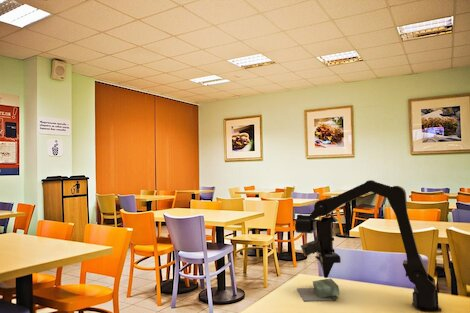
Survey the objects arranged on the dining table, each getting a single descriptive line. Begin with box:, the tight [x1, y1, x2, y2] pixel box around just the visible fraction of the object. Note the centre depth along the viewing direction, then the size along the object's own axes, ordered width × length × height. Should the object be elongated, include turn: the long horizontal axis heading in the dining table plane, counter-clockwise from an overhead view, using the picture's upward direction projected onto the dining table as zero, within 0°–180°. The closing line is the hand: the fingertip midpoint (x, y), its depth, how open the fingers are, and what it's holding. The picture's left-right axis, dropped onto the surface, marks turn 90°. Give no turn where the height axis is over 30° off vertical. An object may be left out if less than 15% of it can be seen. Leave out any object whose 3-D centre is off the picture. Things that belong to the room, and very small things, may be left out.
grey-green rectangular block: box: [312, 278, 341, 298], centre depth 133 cm, size 3×10×7 cm
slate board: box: [296, 287, 337, 302], centre depth 133 cm, size 11×14×1 cm
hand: (325, 277), depth 134 cm, fingers closed
